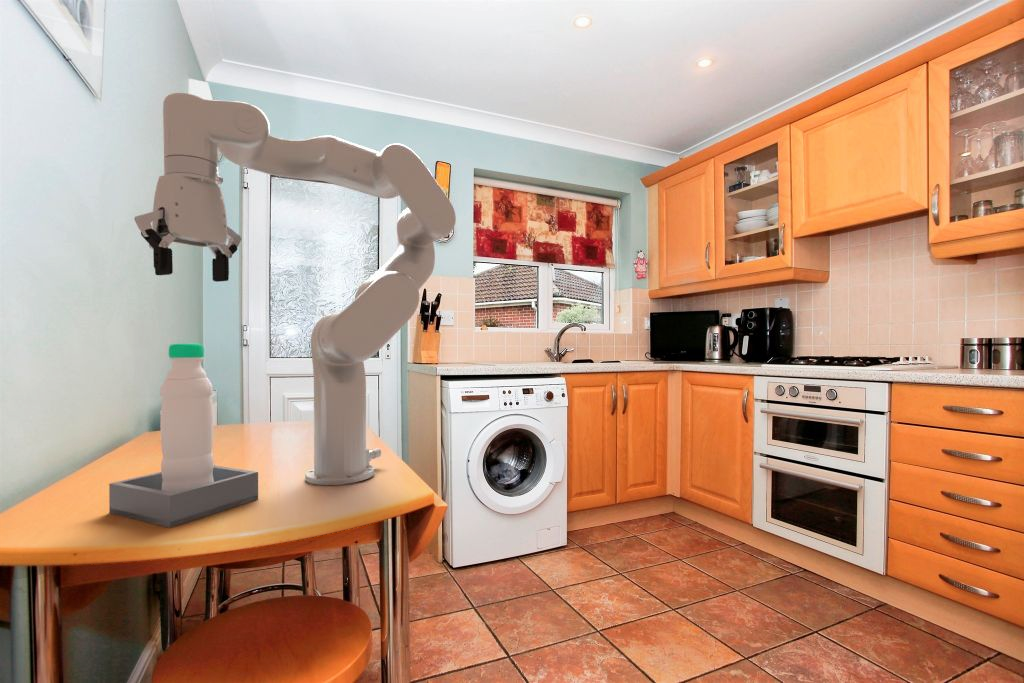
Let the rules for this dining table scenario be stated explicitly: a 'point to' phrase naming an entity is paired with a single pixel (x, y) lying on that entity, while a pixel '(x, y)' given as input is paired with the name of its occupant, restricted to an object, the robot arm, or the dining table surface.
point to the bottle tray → (181, 497)
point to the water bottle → (186, 421)
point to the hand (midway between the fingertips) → (193, 278)
